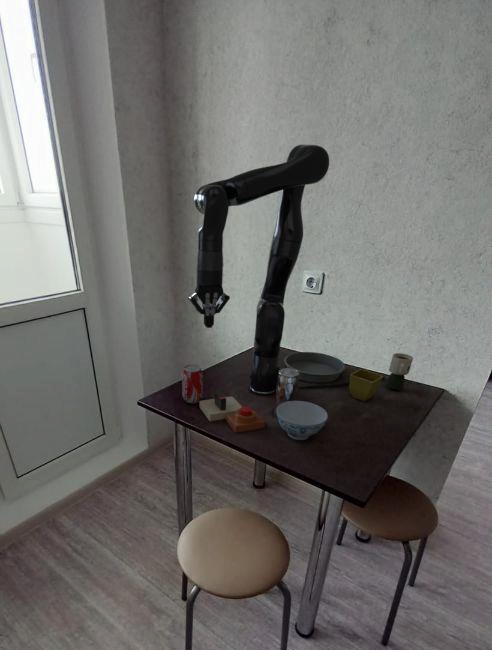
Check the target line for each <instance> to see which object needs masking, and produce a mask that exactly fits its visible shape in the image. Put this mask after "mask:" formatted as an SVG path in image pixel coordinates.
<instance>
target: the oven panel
mask: <svg viewBox="0 0 492 650" xmlns="http://www.w3.org/2000/svg"><path fill="white" fill-rule="evenodd" d="M224 397H225V398H226V410H222V411H221V410H220V409H219V408H218V407H217V406H216V404H215V398H211V399H204V400H203V399H202V400H201V401H199V409H200V410H201V411H202V413H203V414H204V415H205V417H206V418H207V420H208V421H209V422H215V421H220V420H226V415H227V414H233V413H235V412H236V410H238V409H240V408H241V407H243V406H242V405H241V403H239V402H238V400H236V398H235V397H233V396H224Z"/></svg>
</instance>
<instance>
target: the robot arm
mask: <svg viewBox="0 0 492 650" xmlns="http://www.w3.org/2000/svg"><path fill="white" fill-rule="evenodd" d="M287 155H288V156H287V159H286V161H285V162H282V163H279V164H278V163H277V164H273V165H267V166H262V167H258V168H254V169H250V170H247V171H244V172H241V173H239V174H236V175H233V176H232V177H230V178H226V179H222V180H218V181H214V182H210V183H206V184H204V185H202V186H200V187H199V188H198V189H197V190H196V191H195V194H194V197H193V203H194V207H195V209H196V210H197V211H198V212H199V213H200V214H201V215H203V221H202V226H200V227H199V228H198V230H197V254H196V287H195V290H194V293H192V295H189V296H188V297H187V299H188V301H189V302H190V304H191V305H192V306H193V307H194V309H195V311H197V313H199V314H200V315H203V325H204V326H205V328H207V329H212V328H213V326H214V325H215V315H217V314H220V313H221V312H222V310H223V309H224V307H225V306H226V304H227V303H228V302H229V300H230V299H231V296H230V295H228V294H227V293H225V291H224V288H223V278H224V251H223V250H224V232H225V229H226V228H225V227H226V224H227V220H228V219H227V218H228V215H229V210H230V207H239V206H243V205H245V204H249V203H250V202H254V201H256V200H259V199H261V198H263V197H266V196H268V195H272V194H274V193H278V192H280V191H281V194H280V195H281V196H280V201H279V205H278V206H279V207H278V212H277V217H276V220H275V221H276V222H275V225H274V230H273V233H272V238H271V242H270V247H269V252H268V259H267V266H266V276H265V280H264V285H263V287H262V291H261V294H260V297H259V299H258V303H257V304H256V310H255V311H256V315H255V316H256V317H255V329H254V338H253V349H252V352H253V353H252V363H251V374H250V375H249V379H250V385H249V390H250V392H252V393H253V394H256V395H260V396H269V395H273V394H274V393H276V382H277V376H278V371H279V370H280V369H281V367H280V366H279V360H280V352H281V344H282V340H283V332H284V325H285V317H286V312H285V311H286V310H285V308H284V302H285V295H286V291H287V286H288V283H289V281H290V278H291V275H292V273H293V272H294V269H295V266H296V263H297V262H298V258H299V255H300V252H301V249H302V244H303V240H304V221H303V213H302V201H303V196H304V192H305V188H306V186H307V185H315V184H317V183H319V182H320V181H322V180H323V179H324V178H325V176H326V175H327V173H328V171H329V168H330V156H329V153H328V151H327V150H326V149H325V148H324V147H323V146H320V145H317V144H297V145H295V146H294V147H292V149H291V150H290V152H289V154H287ZM198 301H200V302H201V305H200V304H199V302H198ZM201 306H202V307H201ZM382 380H385V376H383V378H382ZM349 384H350V381H349V382H342V383H334V384H314V385H312V384H311V385H304V386H303V385H302V386H298V389H309V388H331V387H341V386H347V385H348V386H349Z"/></svg>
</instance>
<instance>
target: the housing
mask: <svg viewBox="0 0 492 650" xmlns="http://www.w3.org/2000/svg"><path fill="white" fill-rule="evenodd" d="M225 421H226V423H227V424H228V425H229V427H230V428H231V429H232V430H233V431H234V432H235V433H241V432H247V431H252V430H259V429H264V428H266V421H265V420H264V418H262V416H260V414H259V413H258V412H256V410H254V409H252V414H251V416H242V415H240V409H238V410H236V412H235V413H233V414H227V415H226V419H225Z"/></svg>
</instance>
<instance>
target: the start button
mask: <svg viewBox="0 0 492 650" xmlns="http://www.w3.org/2000/svg"><path fill="white" fill-rule="evenodd" d="M252 410H253V409H252V407H250V406H246V405H245V406H242V407H241V408H240V415H242V416H251V414H252Z"/></svg>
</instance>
